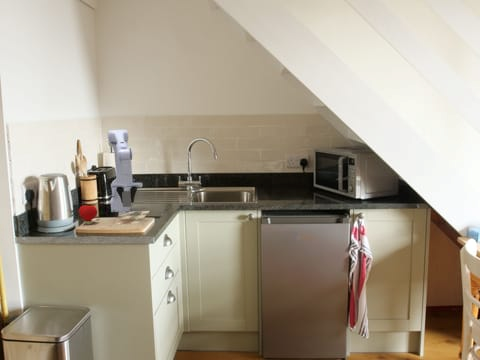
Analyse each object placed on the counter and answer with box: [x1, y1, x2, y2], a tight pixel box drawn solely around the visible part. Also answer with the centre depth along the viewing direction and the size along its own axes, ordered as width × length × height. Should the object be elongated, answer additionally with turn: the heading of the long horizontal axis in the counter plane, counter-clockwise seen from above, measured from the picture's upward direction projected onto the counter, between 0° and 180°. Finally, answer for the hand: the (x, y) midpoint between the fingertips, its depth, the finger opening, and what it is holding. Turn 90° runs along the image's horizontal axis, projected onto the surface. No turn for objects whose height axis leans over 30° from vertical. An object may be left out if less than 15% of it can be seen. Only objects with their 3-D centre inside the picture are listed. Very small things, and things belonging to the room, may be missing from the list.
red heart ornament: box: [78, 204, 98, 225], centre depth 207 cm, size 9×7×10 cm
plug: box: [122, 191, 134, 208], centre depth 210 cm, size 4×4×7 cm
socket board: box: [112, 210, 150, 225], centre depth 217 cm, size 12×26×2 cm, turn 0°
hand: (127, 202), depth 210 cm, fingers closed on plug, 4 cm apart
